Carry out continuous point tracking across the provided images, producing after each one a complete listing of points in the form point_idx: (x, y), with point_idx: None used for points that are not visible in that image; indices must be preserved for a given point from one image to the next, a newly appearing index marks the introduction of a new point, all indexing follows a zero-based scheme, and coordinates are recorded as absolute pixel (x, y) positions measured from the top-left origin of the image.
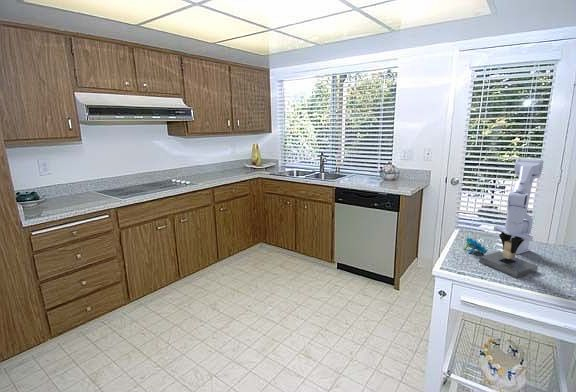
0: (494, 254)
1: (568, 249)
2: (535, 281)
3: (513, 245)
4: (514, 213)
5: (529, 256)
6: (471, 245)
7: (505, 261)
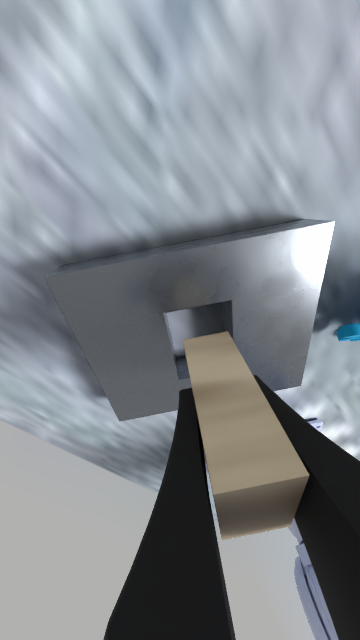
0: (293, 341)
1: None
2: (22, 326)
3: (181, 478)
4: None
5: None
6: None
7: None
